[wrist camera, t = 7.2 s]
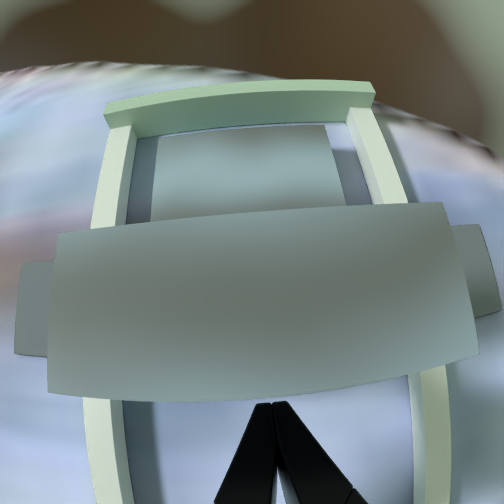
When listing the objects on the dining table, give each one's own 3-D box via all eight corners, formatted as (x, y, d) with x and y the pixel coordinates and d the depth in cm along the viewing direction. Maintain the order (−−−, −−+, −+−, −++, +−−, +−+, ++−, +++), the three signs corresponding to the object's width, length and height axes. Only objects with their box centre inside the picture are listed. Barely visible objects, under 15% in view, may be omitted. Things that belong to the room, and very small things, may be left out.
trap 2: (91, 359, 15) (89, 359, 15) (16, 354, 15) (13, 353, 15) (96, 257, 18) (94, 256, 17) (24, 264, 17) (22, 263, 17)
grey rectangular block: (359, 372, 15) (479, 353, 6) (165, 389, 15) (48, 392, 6) (318, 150, 20) (344, 18, 11) (167, 162, 20) (122, 35, 11)
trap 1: (499, 310, 16) (502, 309, 15) (428, 329, 15) (431, 328, 15) (476, 225, 18) (478, 224, 18) (406, 231, 18) (408, 229, 17)
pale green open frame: (433, 540, 10) (456, 557, 7) (126, 570, 10) (108, 592, 7) (361, 111, 22) (370, 82, 19) (120, 131, 21) (106, 103, 19)
